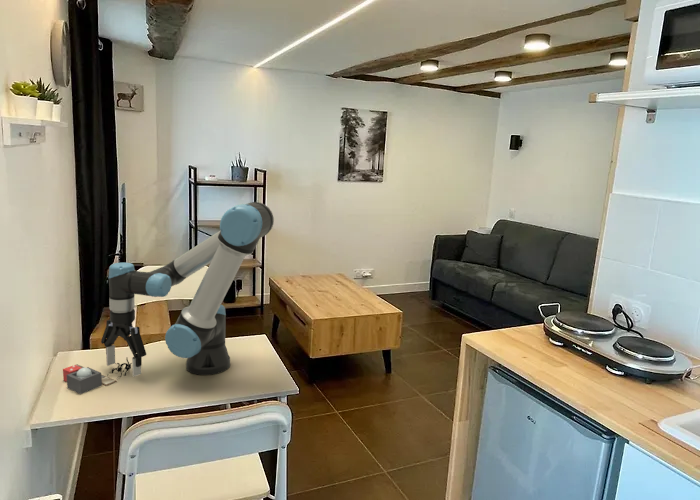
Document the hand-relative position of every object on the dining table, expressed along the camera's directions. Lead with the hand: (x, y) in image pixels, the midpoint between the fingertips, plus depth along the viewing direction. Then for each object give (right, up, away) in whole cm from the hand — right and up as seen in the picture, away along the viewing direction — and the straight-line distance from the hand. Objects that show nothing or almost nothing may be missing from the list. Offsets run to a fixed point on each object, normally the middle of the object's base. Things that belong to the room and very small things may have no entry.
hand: (123, 369), depth 163 cm
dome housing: (-8, -3, -10) cm, 13 cm away
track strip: (-10, -1, -2) cm, 11 cm away
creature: (-1, -2, 0) cm, 2 cm away
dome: (-8, -1, -10) cm, 13 cm away
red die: (-14, -2, -6) cm, 15 cm away
